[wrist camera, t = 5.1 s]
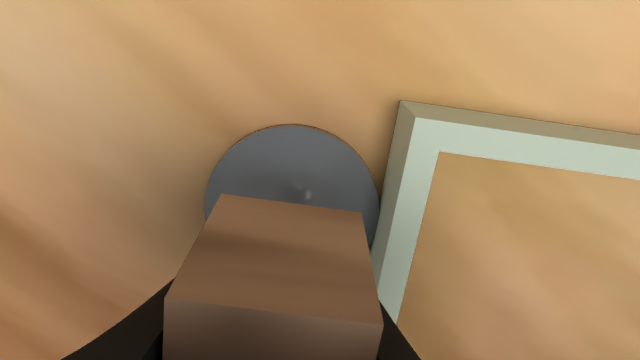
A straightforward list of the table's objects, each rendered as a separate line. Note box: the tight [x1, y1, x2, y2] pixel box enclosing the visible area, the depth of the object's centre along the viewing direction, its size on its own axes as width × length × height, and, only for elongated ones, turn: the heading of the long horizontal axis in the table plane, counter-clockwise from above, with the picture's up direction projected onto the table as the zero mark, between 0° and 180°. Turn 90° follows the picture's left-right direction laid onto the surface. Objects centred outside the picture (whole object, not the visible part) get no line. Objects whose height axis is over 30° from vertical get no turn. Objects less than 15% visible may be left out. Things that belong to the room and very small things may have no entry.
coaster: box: [205, 124, 379, 247], centre depth 19 cm, size 7×7×1 cm
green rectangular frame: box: [369, 100, 640, 324], centre depth 19 cm, size 14×17×3 cm
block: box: [162, 194, 384, 360], centre depth 11 cm, size 4×4×5 cm
